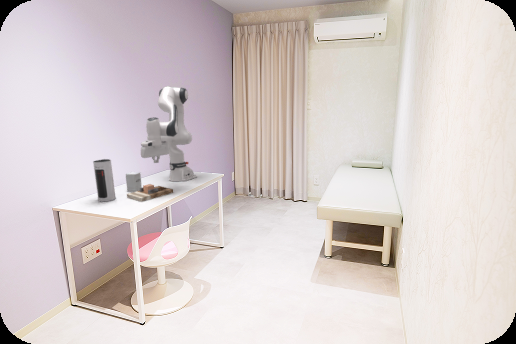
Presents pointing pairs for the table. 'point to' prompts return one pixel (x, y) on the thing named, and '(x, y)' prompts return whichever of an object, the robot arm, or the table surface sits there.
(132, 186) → the supplement box
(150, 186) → the terracotta block
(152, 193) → the wooden tray
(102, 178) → the speaker
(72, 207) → the table surface
